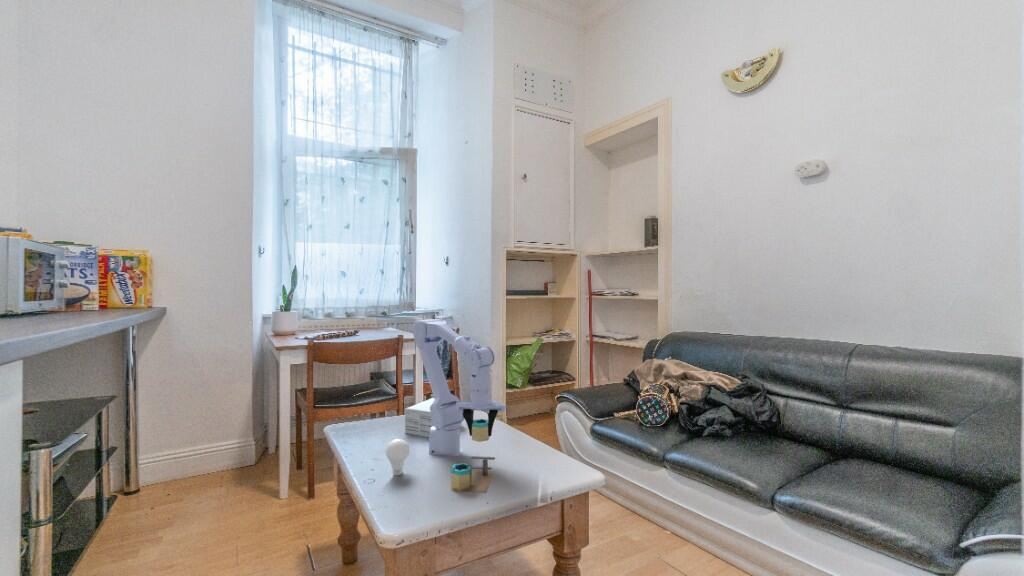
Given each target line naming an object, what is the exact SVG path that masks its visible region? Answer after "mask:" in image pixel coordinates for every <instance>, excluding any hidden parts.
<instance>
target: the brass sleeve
mask: <svg viewBox="0 0 1024 576" xmlns="http://www.w3.org/2000/svg"><path fill="white" fill-rule="evenodd" d="M488 428H489V423H488V419H486V418H478V419H477V418H476V419H473V422H472V436H471V441H474V442H478V443H480V442H487V441H489V440H490V437H491V436H488Z"/></svg>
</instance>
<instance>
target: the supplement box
mask: <svg viewBox="0 0 1024 576" xmlns="http://www.w3.org/2000/svg"><path fill="white" fill-rule="evenodd" d="M434 400H435V398H434V397H431V398H428V399H426V400H424V401H421V402H419V403H416V404H413V405H411V406H408V407H405V408H404V433H405V434H409V435H415V436H419V437H425V438H429V433H430V429H431V427H432V426H434V425H433V423H432V421H431V411H430V406H431V405H432V403H433V402H434ZM443 407H444V406H443ZM440 408H441V407H440Z"/></svg>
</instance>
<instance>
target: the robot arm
mask: <svg viewBox="0 0 1024 576" xmlns="http://www.w3.org/2000/svg"><path fill="white" fill-rule="evenodd" d="M412 335H413V338H414V341H415V344H416V347H417V349H418V352H419V354H420V358H421V361H422V364H423V368H424V371H425V373H426V377H427V379H428V382H429V386H430V389H431V391H432V395H433V398H435V400H434V402H433V403H432V405H431V406H430V411H431V421H432V423H433V425H434V426H432V427H431V429H430V433H429V437H428V455H429V456H431V455H432V456H456V457H457V456H461V455H462V453H463V451H464V448H461V435H460V434H461V426H462V423H463V422H464V420H465V423H466V425H467V428H468V431H469V437H472V422H473V420H474V415H475V414H474V411H480V412H482V411H484V412H485V411H486V412H488V411H489V412H488V413H487V420H488V423H489V428H488V436H490V437H491V436H492V435H493V427H494V423H495V420H496V418H497V415H498V412H502V413H505V412H506V403H503V402H502V403H500V402H493V401H491V366H492V365H493V364H494V362H495V353H494V351H493V350H492V349H491V347H489V346H481V344H480V343H477V342H475V341H474V340H473V339H471V336H469V335H461V336H460V335H459V333H457V332H456V331H455V330H454V329H452V328H451V327H450V326H449V325H448V322H447V320H444V319H443V318H442V317H441V318H435V319H434V318H433V319H432V318H431V319H417V320H416V321H415V322H414V325H413V327H412ZM443 340H444V341H446V342H447V343H448V344H451V346H453V350H454V352H455V353H457V354H458V355H460V356H461V357H462V358H463V359H465V360H466V364H467V366H468V371H469V374H470V401H465V402H461V401H460V399H459V398H458V397H459V396H456V395H454V394H453V393H451V391H450V387H449V385H448V381H447V378H446V375H445V372H444V370H443V367H442V364H441V360H440V358H439V355H438V352H437V347H438V346H439V345H441V343H442V341H443ZM443 406H444V407H443ZM440 407H441V408H440Z"/></svg>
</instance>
